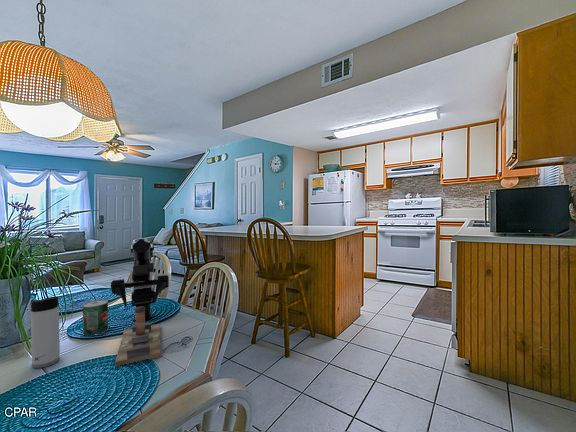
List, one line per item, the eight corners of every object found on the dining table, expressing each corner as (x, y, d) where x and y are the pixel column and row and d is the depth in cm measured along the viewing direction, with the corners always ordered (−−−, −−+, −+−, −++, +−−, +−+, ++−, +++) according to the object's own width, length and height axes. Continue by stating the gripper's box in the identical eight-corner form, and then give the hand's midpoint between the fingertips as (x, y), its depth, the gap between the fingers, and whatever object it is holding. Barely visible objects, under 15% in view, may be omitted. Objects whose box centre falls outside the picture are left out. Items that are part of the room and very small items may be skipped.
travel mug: (36, 371, 76) (34, 302, 76) (29, 364, 79) (27, 298, 79) (63, 360, 81) (62, 296, 81) (55, 354, 85) (54, 292, 84)
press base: (124, 333, 99) (124, 323, 99) (159, 327, 104) (159, 317, 104) (115, 367, 78) (115, 354, 78) (160, 356, 83) (160, 344, 83)
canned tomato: (111, 331, 102) (110, 302, 101) (85, 338, 96) (85, 308, 96) (105, 325, 107) (104, 298, 107) (80, 331, 101) (80, 303, 101)
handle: (132, 337, 91) (132, 306, 91) (149, 334, 93) (148, 304, 93) (131, 343, 87) (130, 311, 87) (148, 340, 89) (148, 308, 89)
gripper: (111, 258, 94) (106, 297, 85) (168, 254, 103) (169, 289, 93) (114, 275, 102) (110, 313, 92) (167, 270, 110) (169, 304, 100)
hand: (140, 304), depth 94 cm, fingers open, 9 cm apart
